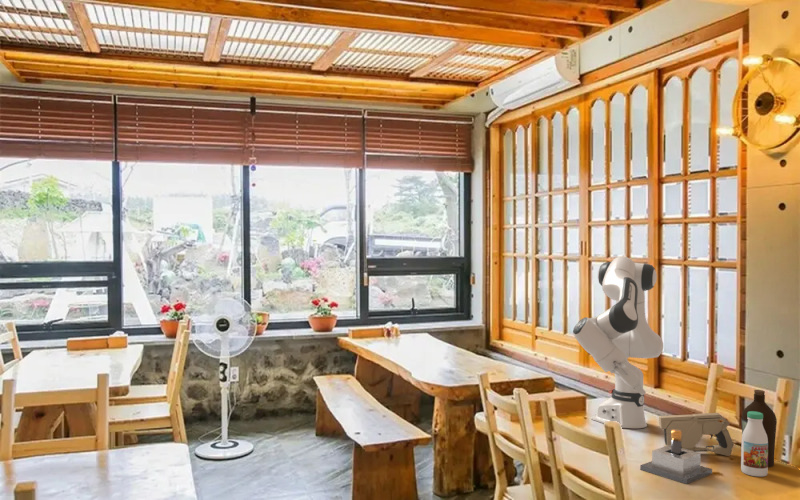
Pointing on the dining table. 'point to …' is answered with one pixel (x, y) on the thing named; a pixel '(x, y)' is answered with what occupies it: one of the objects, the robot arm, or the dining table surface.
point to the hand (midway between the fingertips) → (640, 390)
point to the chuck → (676, 465)
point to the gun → (698, 431)
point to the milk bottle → (754, 446)
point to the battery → (676, 441)
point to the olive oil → (768, 421)
